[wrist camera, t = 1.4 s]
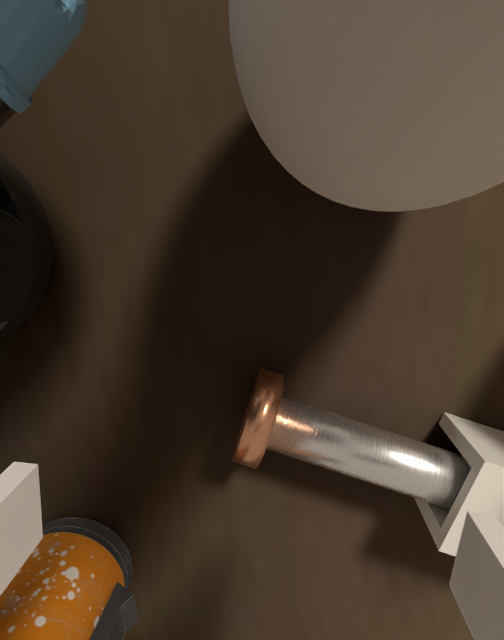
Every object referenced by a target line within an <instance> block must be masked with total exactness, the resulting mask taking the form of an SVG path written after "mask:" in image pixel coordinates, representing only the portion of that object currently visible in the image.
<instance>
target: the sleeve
mask: <svg viewBox="0 0 504 640" xmlns="http://www.w3.org/2000/svg"><path fill="white" fill-rule="evenodd" d="M439 425H440V426H441V428H442V429H443V430H444V432H445V433H446V434H447V436H448V437H449V438H450V440H451V441H452V442H453V444H454V445H455V446H456V448H457V449H458V450H459V452H460V453H461V454H462V456H463V457H464V458H465V459H466V461H467V462H468V463H469V465H470V466H471V467H472V468H471V470H470V472H469V474H468V476H467V478H466V480H465V482H464V484H463V486H462V488H461V490H460V492H459V494H458V496H457V498H456V500H455V502H454V503H453V505H452V507H451V509H448V508H445V507H442V506H438V505H435V504H432V503H429V502H426V501H423V500H420V499H417V498H414V499H415V501H416V503H417V505H418V507H419V509H420V512H421V514H422V516H423V518H424V520H425V522H426V525H427V527H428V529H429V531H430V533H431V535H432V537H433V540H434V542H435V544H436V546H437V548H438V550H439V551H440V552H443V553H446V554H450V555H453V556H456V554H457V550H458V546H459V542H460V538H461V534H462V530H463V526H464V522H465V518H466V514H467V511H473V512H482V513H491V514H494V515H495V516H496V518H497V519H498V521H499V522H500V523H501V525H502V526H503V528H504V431H501V430H497V429H494V428H491V427H488V426H485V425H482V424H479V423H476V422H473V421H470V420H467V419H464V418H461V417H458V416H455V415H451V414H448V413H445V412H444V413H443V416H442V418H441V420H440V422H439Z"/></svg>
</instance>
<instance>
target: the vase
mask: <svg viewBox="0 0 504 640" xmlns="http://www.w3.org/2000/svg"><path fill="white" fill-rule="evenodd" d="M229 27H230V38H231V46H232V52H233V58H234V64H235V71H236V75H237V79H238V82H239V86H240V89H241V93H242V96H243V99H244V102H245V104H246V107H247V110H248V113H249V115H250V118H251V120H252V122H253V124H254V126H255V128H256V129H257V131H258V133H259V135H260V137H261V138H262V140H263V141H264V143H265V144H266V146H267V147H268V149H269V150H270V152H271V153H272V154H273V156H274V157H275V158H276V159H277V160H278V162H279V163H280V164H281V165H282V166H283V167H284V168H285V169H286V170H287V171H288V172H289V173H290V174H291V175H292V176H293V177H295V178H296V179H297V180H298V181H299V182H300V183H302V184H303V185H305V186H306V187H308V188H309V189H311V190H312V191H314V192H316V193H317V194H319V195H321V196H323V197H326V198H328V199H330V200H332V201H334V202H337V203H341V204H344V205H347V206H350V207H354V208H360V209H366V210H372V211H386V212H400V211H410V210H419V209H425V208H430V207H436V206H441V205H444V204H448V203H451V202H454V201H457V200H461V199H464V198H467V197H470V196H473V195H475V194H478V193H480V192H482V191H485V190H487V189H489V188H491V187H494V186H496V185H498V184H500V183H502V182H504V0H229Z"/></svg>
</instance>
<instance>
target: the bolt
mask: <svg viewBox="0 0 504 640" xmlns="http://www.w3.org/2000/svg"><path fill="white" fill-rule="evenodd" d="M284 380H285V376H284V375H282V374H279V373H276V372H273V371H269V370H266V369H263V368H261V369H260V371H259V374H258V376H257V379H256V382H255V385H254V387H253V390H252V393H251V396H250V399H249V402H248V405H247V408H246V412H245V415H244V418H243V421H242V425H241V428H240V431H239V435H238V438H237V442H236V445H235V449H234V453H233V458H232V461H233V462H236V463H239V464H242V465H245V466H248V467H251V468H254V469H257V468H258V466H259V464H260V462H261V460H262V458H263V455H264V453H265V450H266V449H268V450H271V451H274V452H277V453H280V454H283V455H286V456H289V457H293V458H296V459H299V460H302V461H305V462H308V463H311V464H314V465H317V466H320V467H323V468H326V469H329V470H332V471H335V472H338V473H341V474H344V475H347V476H350V477H353V478H356V479H359V480H362V481H366V482H369V483H372V484H375V485H378V486H381V487H384V488H387V489H390V490H393V491H396V492H399V493H402V494H405V495H408V496H411V497H414V498H417V499H420V500H423V501H426V502H429V503H432V504H435V505H438V506H442V507H445V508H448V509H451V507H452V505H453V503H454V502H455V500H456V498H457V496H458V494H459V492H460V490H461V488H462V486H463V484H464V482H465V480H466V478H467V476H468V474H469V472H470V470H471V468H472V467H471V466H470V465H469V463H468V462H467V461H466V459H465V458H464V457H463V456H462V455H460V454H457V453H454V452H451V451H448V450H445V449H442V448H438V447H435V446H432V445H429V444H426V443H423V442H420V441H417V440H414V439H411V438H408V437H405V436H402V435H399V434H396V433H393V432H390V431H386V430H383V429H380V428H377V427H374V426H371V425H368V424H365V423H362V422H359V421H356V420H353V419H350V418H347V417H344V416H341V415H338V414H335V413H331V412H328V411H325V410H322V409H319V408H316V407H313V406H310V405H307V404H304V403H301V402H298V401H295V400H292V399H289V398H286V397H283V396H282V393H283V387H284Z"/></svg>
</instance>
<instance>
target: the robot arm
mask: <svg viewBox="0 0 504 640" xmlns="http://www.w3.org/2000/svg"><path fill="white" fill-rule="evenodd" d="M86 13H87V0H0V128H1V127H2V126H3V125H4V123H5V122H6V121H7V120H8V119H9V118H10V117H11V116H12V115H13V114H14V113H15V112H16V111H17V112H18V113H22V112H23V111H25V110H26V109H27V108H28V107H29V106H30V104H31V103H32V93H33V92H34V91H35V89H36V88H37V87H38V86H39V84H40V83H41V82H42V81H43V79H44V78H45V77H46V76H47V74H48V73H49V72H50V71H51V69H52V68H53V67H54V66H55V64H56V63H57V62H58V61H59V59H60V58H61V57H62V56H63V55H64V53H65V52H66V51H67V50H68V48H69V47H70V46H71V45H72V43H73V42H74V41H75V40H76V38H77V37H78V35H79V34H80V32H81V30H82V27H83V25H84V22H85V19H86ZM52 264H53V249H52V239H51V234H50V229H49V225H48V222H47V219H46V216H45V213H44V211H43V208H42V206H41V204H40V202H39V200H38V198H37V196H36V194H35V193H34V191H33V189H32V188H31V187H30V185H29V184H28V182H27V181H26V180H25V178H24V177H23V176H22V175H21V174H20V172H19V171H18V170H17V169H16V168H15V167H14V166H13V165H12V164H11V163H10V162H8V161H7V160H6V159H5V158H4V157H2V156H1V155H0V338H1V337H4V336H6V335H8V334H10V333H12V332H14V331H15V330H17V329H18V328H20V327H21V326H22V325H23V324H25V323H26V322H27V321H28V320H29V319H30V318H31V316H32V315H33V314H34V313H35V312H36V310H37V309H38V307H39V306H40V304H41V302H42V300H43V298H44V296H45V294H46V291H47V289H48V286H49V282H50V278H51V273H52ZM42 538H43V531H42V516H41V501H40V486H39V471H38V464H31V463H22V462H13V463H12V464H11V465H10V466H9V467H8V468H7V469H6V470H5V471H4V472H3V473H2V474H0V596H1V594H2V593H3V592H4V590H5V589H6V587H7V586H8V585H9V583H10V582H11V581H12V579H13V578H14V576H15V575H16V574H17V572H18V571H19V570H20V568H21V567H22V566H23V564H24V563H25V561H26V560H27V559H28V557H29V556H30V555H31V553H32V552H33V550H34V549H35V548H36V546H37V545H38V544H39V542H40V541H41V539H42ZM449 586H450V589H451V591H452V593H453V595H454V597H455V600H456V602H457V604H458V606H459V608H460V611H461V613H462V615H463V617H464V619H465V621H466V624H467V626H468V628H469V630H470V632H471V635H472V637H473V639H474V640H504V528H503V526H502V525H501V523H500V522H499V521H498V519H497V518H496V516H495V515H494V514H491V513H482V512H473V511H467V514H466V518H465V522H464V526H463V530H462V534H461V538H460V542H459V546H458V550H457V554H456V558H455V562H454V566H453V570H452V574H451V578H450V582H449Z"/></svg>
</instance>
